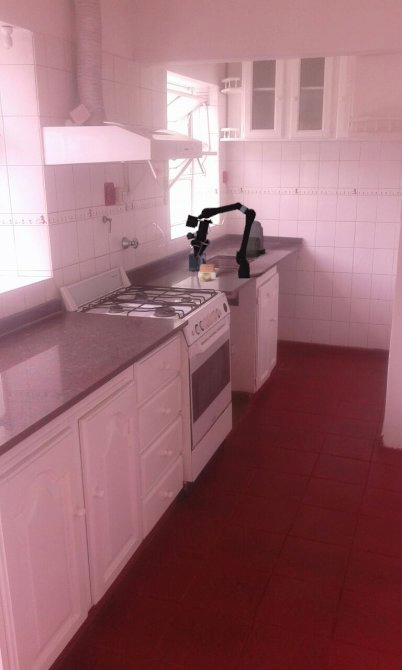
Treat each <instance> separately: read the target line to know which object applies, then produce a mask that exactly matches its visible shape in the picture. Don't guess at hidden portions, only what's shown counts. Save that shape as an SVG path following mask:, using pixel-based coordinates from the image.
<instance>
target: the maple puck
mask: <svg viewBox="0 0 402 670" xmlns="http://www.w3.org/2000/svg"><path fill="white" fill-rule="evenodd" d="M199 280H200V281H199V282H202V283H209V282H211V280H212V278H211V274H210V273H202V274H200V278H199Z"/></svg>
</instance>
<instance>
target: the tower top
mask: <svg viewBox="0 0 402 670" xmlns="http://www.w3.org/2000/svg"><path fill="white" fill-rule="evenodd" d="M215 268H216V264H215V263H209V264H207V263H206V264H201V266H200V272H214V271H215V270H216V269H215Z"/></svg>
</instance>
